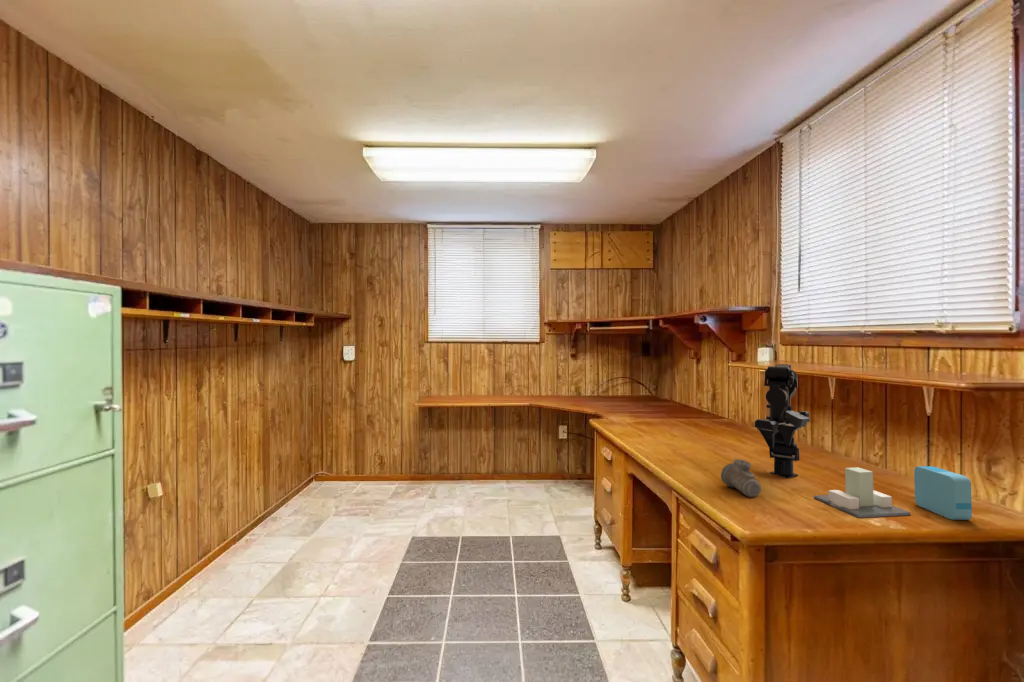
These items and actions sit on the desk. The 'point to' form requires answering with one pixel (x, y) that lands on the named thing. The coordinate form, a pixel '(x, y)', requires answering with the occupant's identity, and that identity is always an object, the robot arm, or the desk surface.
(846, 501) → the mounted modules
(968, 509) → the data package
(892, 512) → the mounting plate
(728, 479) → the pipe fitting
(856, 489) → the block
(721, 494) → the desk surface
